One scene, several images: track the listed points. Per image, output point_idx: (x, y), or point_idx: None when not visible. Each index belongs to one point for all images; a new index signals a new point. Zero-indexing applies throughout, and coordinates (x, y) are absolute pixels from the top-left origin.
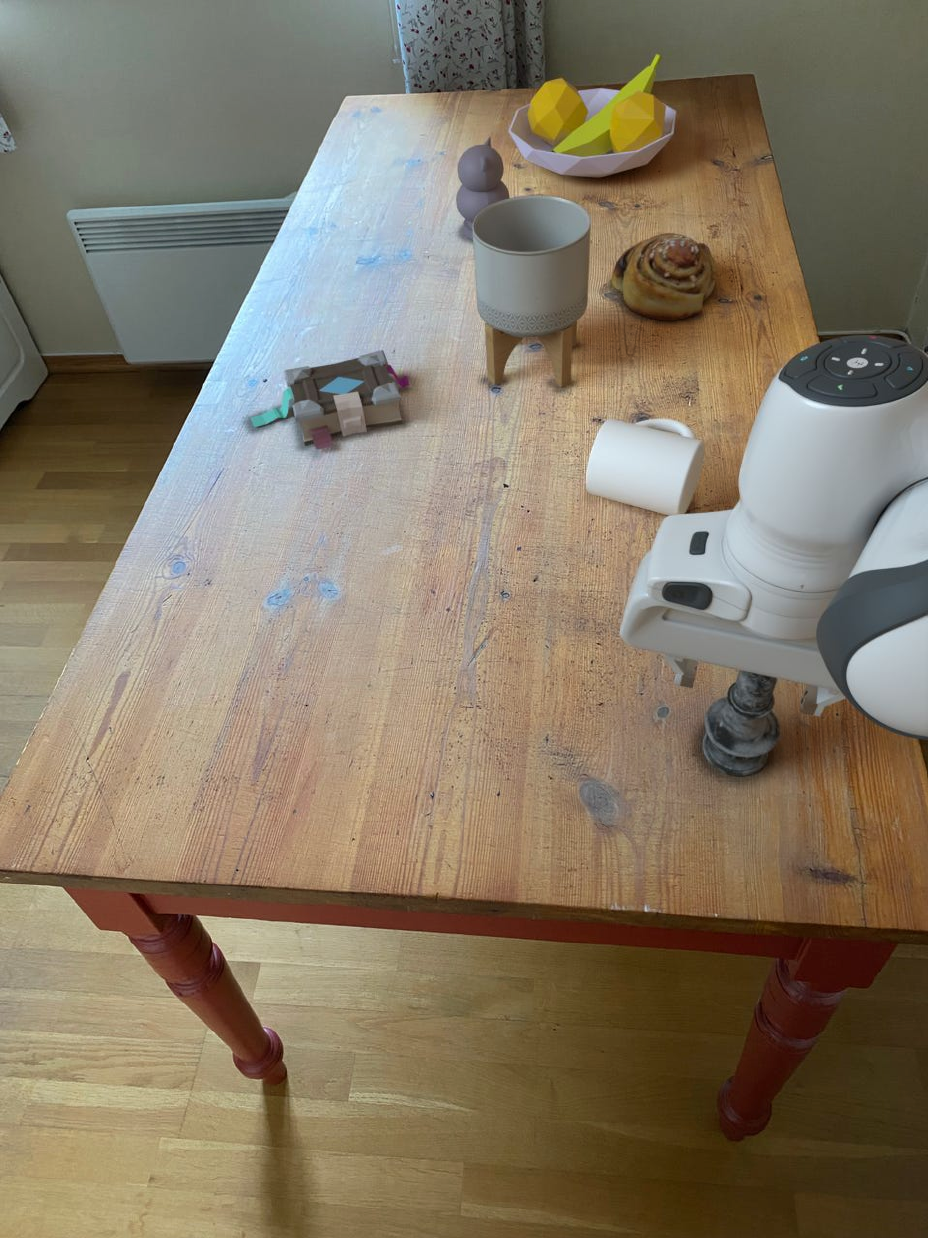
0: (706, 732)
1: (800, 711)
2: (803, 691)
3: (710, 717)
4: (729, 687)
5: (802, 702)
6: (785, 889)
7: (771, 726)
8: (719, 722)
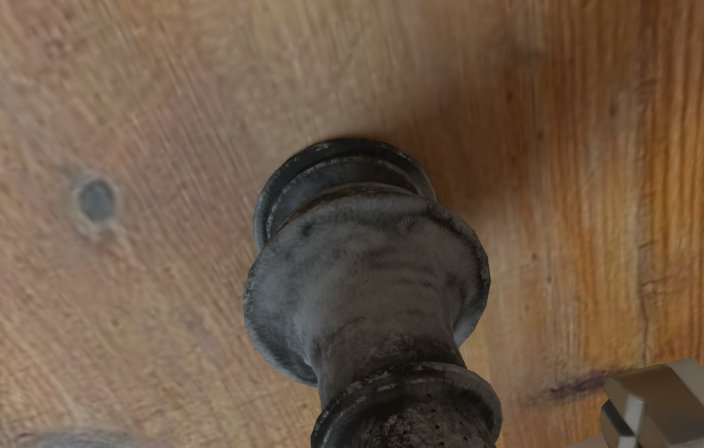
0: (254, 216)
1: (608, 444)
2: (631, 399)
3: (263, 331)
4: (312, 440)
5: (623, 437)
6: (509, 435)
7: (463, 285)
8: (301, 358)
